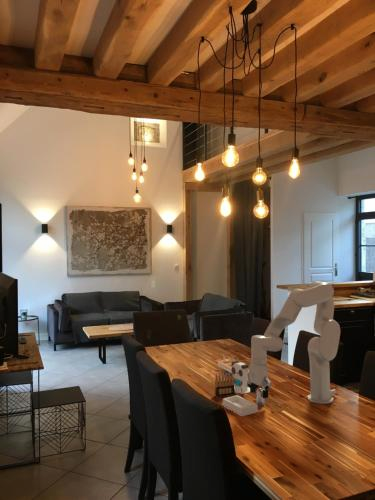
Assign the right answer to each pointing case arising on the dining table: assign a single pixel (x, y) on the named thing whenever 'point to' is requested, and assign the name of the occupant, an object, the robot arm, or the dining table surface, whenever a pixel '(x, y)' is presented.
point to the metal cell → (259, 397)
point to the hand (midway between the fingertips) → (259, 394)
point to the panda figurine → (240, 377)
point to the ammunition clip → (224, 385)
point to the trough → (240, 405)
